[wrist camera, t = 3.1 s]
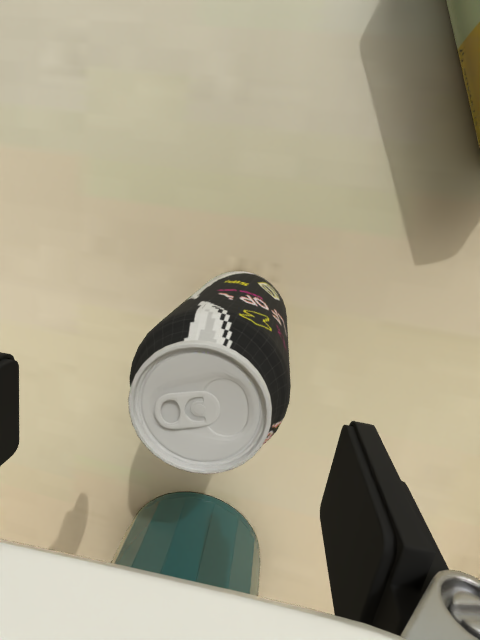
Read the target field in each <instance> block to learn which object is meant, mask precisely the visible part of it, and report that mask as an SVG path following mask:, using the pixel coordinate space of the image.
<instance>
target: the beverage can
mask: <svg viewBox="0 0 480 640" xmlns="http://www.w3.org/2000/svg"><path fill="white" fill-rule="evenodd" d="M290 387H291V386H290V368H289V350H288V332H287V316H286V308H285V305H284V302H283V299H282V298H281V296H280V294H279V293H278V291H277V290H276V289H275V288H274V287H273V285H272V284H271V283H269V282H268V281H267V280H265V279H264V278H262V277H260V276H258V275H256V274H253V273H249V272H243V271H233V272H226V273H223V274H221V275H218V276H216V277H214V278H213V279H211V280H209V281H208V282H207V283H206V284H205V285H204V286H202V287H201V288H200V289H199V290H198V291H196V292H195V293H194V294H193V295H192V296H190V297H189V298H188V299H187V300H186V301H185V302H183V303H182V304H181V305H180V306H179V307H177V308H176V309H175V310H174V311H173V312H172V313H170V314H169V315H168V316H167V317H166V318H164V319H163V320H162V321H161V322H160V323H158V324H157V325H156V326H155V327H154V328H153V329H152V330H151V331H150V332H149V333H148V334H147V335H146V337H145V338H144V340H143V341H142V343H141V344H140V345H139V347H138V349H137V352H136V354H135V357H134V359H133V362H132V367H131V373H130V393H129V413H130V417H131V421H132V424H133V426H134V428H135V431H136V433H137V435H138V436H139V438H140V439H141V441H142V442H143V443H144V445H145V446H146V447H147V448H148V449H149V450H150V451H151V452H152V453H153V454H154V455H155V456H157V457H158V458H160V459H161V460H163V461H164V462H165V463H167V464H169V465H171V466H174V467H176V468H178V469H181V470H185V471H188V472H193V473H202V474H210V473H220V472H224V471H228V470H231V469H233V468H236V467H238V466H240V465H242V464H244V463H245V462H246V461H248V460H249V459H250V458H252V457H253V456H254V455H255V454H256V452H257V451H258V450H259V449H260V448H261V446H262V445H263V444H264V443H266V442H267V441H268V440H269V439H270V438H271V436H272V435H273V434H274V433H275V432H276V431H277V429H278V427H279V425H280V424H281V422H282V420H283V418H284V417H285V414H286V411H287V407H288V404H289V398H290Z"/></svg>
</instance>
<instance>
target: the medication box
mask: <svg viewBox="0 0 480 640" xmlns="http://www.w3.org/2000/svg"><path fill="white" fill-rule="evenodd" d="M446 2H447V6H448V10H449V15H450V19H451V24H452V28H453V32H454V37H455V41H456V46H457V50H458V55H459V59H460V63H461V68H462V73H463V77H464V82H465V86H466V91H467V95H468V99H469V104H470V108H471V113H472V117H473V122H474V126H475V131H476V135H477V139H478V144H479V148H480V0H446Z"/></svg>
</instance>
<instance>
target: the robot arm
mask: <svg viewBox="0 0 480 640" xmlns="http://www.w3.org/2000/svg"><path fill="white" fill-rule="evenodd" d="M18 445H19V365H18V362H17V361H15V360H14V357H13V356H12V355H11V354H6V353H1V352H0V466H1V465H2V464H3V463H4V462H5V461H6V460H8V459H9V458H10V457H11V456H12V455H13V454H14V453H15V451H16V450H17V448H18ZM320 521H321V527H322V534H323V541H324V547H325V554H326V560H327V567H328V573H329V580H330V586H331V593H332V599H333V606H334V612H335V615H332V614H328V613H325V612H321V611H317V610H313V609H310V608H306V607H302V606H298V605H294V604H289V603H285V602H281V601H276V600H272V599H267V598H263V597H259V596H255V595H251V594H247V593H243V592H238V591H234V590H229V589H225V588H220V587H216V586H212V585H207V584H203V583H198V582H194V581H189V580H185V579H180V578H176V577H172V576H167V575H163V574H158V573H154V572H149V571H145V570H140V569H136V568H132V567H127V566H123V565H118V564H114V563H109V562H105V561H100V560H95V559H91V558H86V557H82V556H77V555H73V554H68V553H63V552H59V551H54V550H50V549H45V548H41V547H36V546H31V545H27V544H22V543H18V542H13V541H8V540H4V539H0V640H480V580H478V579H477V578H475V577H473V576H471V575H468V574H466V573H463V572H461V571H455V570H449V569H448V567H447V565H446V563H445V561H444V559H443V557H442V555H441V553H440V551H439V549H438V547H437V545H436V543H435V541H434V539H433V537H432V535H431V533H430V531H429V529H428V527H427V525H426V523H425V521H424V519H423V517H422V515H421V513H420V511H419V509H418V507H417V505H416V503H415V501H414V499H413V497H412V495H411V493H410V491H409V489H408V487H407V485H406V484H405V482H403V481H401V480H400V477H399V475H398V473H397V471H396V469H395V467H394V465H393V463H392V461H391V459H390V457H389V455H388V453H387V451H386V449H385V447H384V445H383V443H382V441H381V438H380V436H379V434H378V432H377V430H376V428H375V427H374V425H370V424H365V423H360V422H355V421H352V422H351V423H350V425H349V426H348V425H344V426H343V427H342V430H341V434H340V437H339V441H338V444H337V448H336V452H335V455H334V459H333V462H332V466H331V470H330V473H329V477H328V480H327V484H326V488H325V491H324V495H323V498H322V502H321V507H320Z"/></svg>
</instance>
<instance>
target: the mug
mask: <svg viewBox="0 0 480 640" xmlns="http://www.w3.org/2000/svg"><path fill="white" fill-rule="evenodd" d="M111 563H114V564H118V565H123V566H127V567H132V568H136V569H140V570H145V571H149V572H154V573H158V574H163V575H167V576H172V577H176V578H180V579H185V580H189V581H194V582H198V583H203V584H207V585H212V586H216V587H220V588H225V589H229V590H234V591H238V592H243V593H247V594H251V595H255V596H258V590H259V574H260V554H259V544H258V540H257V538H256V535H255V533H254V531H253V529H252V527H251V526H250V524H249V523H248V521H247V520H246V519H245V518H244V517H243V516H242V515H241V514H240V513H239V512H238V511H237V510H235V509H234V508H233V507H231V506H230V505H228V504H227V503H225V502H223V501H221V500H219V499H216V498H214V497H211V496H208V495H204V494H200V493H194V492H176V493H170V494H166V495H163V496H160V497H158V498H156V499H153V500H152V501H150V502H149V503H147V504H146V505H145V506H144V507H143V508H141V510H140V511H139V512H138V513H137V515H136V516H135V518H134V520H133V522H132V524H131V525H130V526H129V528H128V530H127V532H126V534H125V536H124V538H123V540H122V542H121V544H120V546H119V548H118V550H117V552H116V554H115V556H114V558H113V560H112V562H111Z"/></svg>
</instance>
